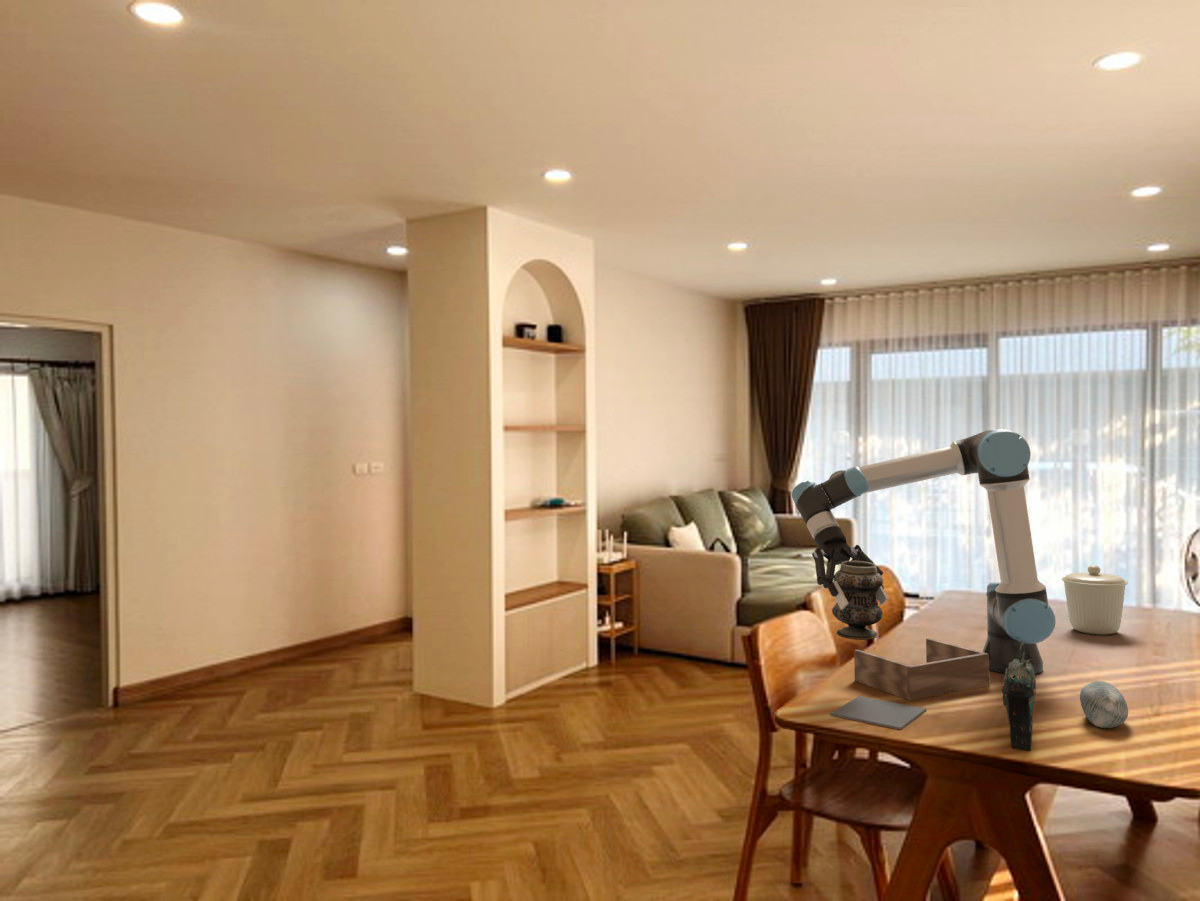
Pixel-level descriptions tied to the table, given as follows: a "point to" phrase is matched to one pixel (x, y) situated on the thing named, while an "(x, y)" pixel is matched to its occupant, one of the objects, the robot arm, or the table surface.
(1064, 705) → the table surface
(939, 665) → the walnut u-shaped frame
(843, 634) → the apothecary jar
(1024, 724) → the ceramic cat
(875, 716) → the rubber mat
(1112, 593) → the canister
